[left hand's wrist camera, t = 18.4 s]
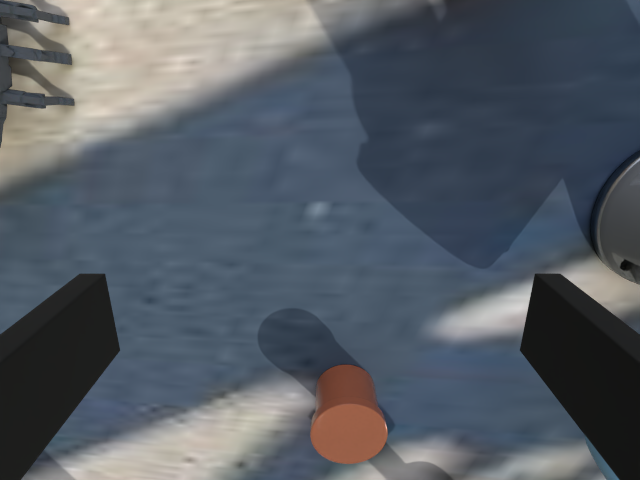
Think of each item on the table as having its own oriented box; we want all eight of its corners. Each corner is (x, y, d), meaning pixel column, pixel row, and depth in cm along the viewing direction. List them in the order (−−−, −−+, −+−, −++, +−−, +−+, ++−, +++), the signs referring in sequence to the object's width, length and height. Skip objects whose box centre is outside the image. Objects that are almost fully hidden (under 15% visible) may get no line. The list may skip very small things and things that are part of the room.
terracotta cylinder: (380, 360, 48) (389, 404, 41) (377, 415, 50) (385, 464, 44) (311, 360, 48) (310, 404, 41) (311, 415, 50) (310, 464, 44)
